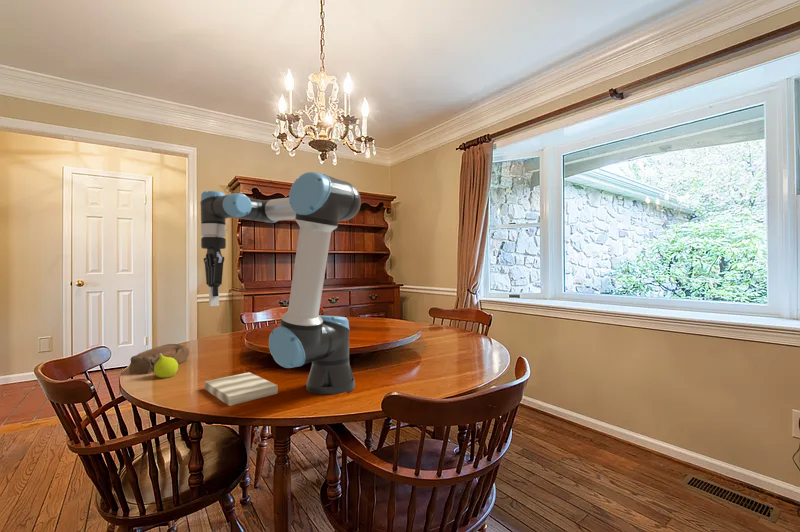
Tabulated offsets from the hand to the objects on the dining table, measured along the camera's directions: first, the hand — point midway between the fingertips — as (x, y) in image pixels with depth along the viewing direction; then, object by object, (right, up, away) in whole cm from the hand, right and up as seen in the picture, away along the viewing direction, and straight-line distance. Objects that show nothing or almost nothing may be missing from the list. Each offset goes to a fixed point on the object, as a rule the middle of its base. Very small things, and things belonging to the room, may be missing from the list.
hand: (214, 305), depth 125 cm
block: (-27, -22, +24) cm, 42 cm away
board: (+15, -25, -13) cm, 32 cm away
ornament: (-17, -25, +1) cm, 31 cm away
